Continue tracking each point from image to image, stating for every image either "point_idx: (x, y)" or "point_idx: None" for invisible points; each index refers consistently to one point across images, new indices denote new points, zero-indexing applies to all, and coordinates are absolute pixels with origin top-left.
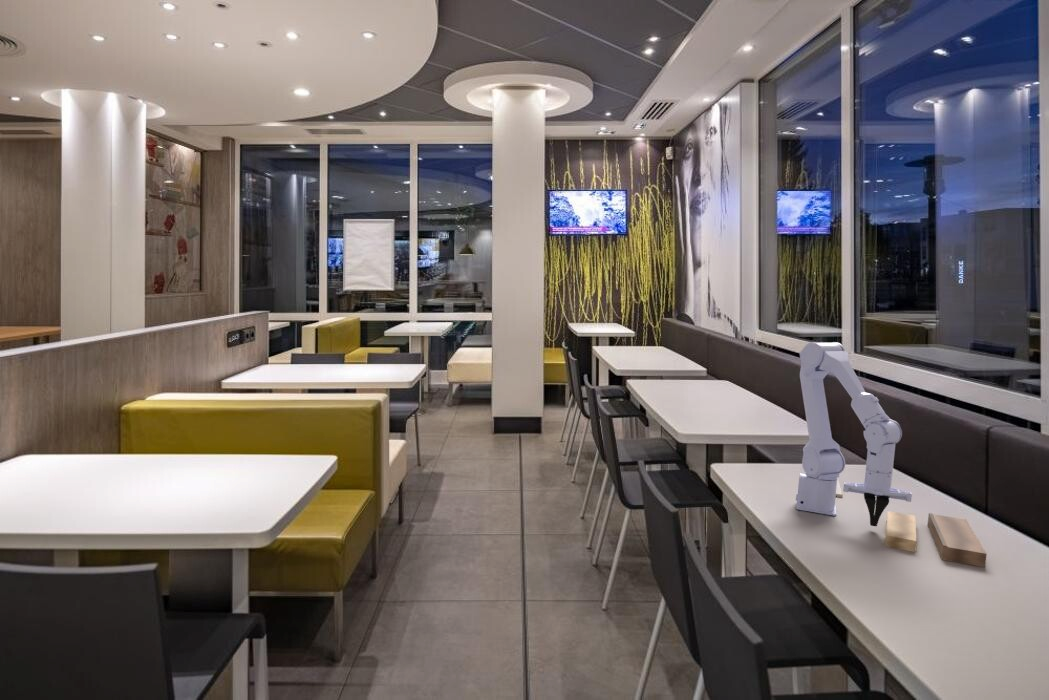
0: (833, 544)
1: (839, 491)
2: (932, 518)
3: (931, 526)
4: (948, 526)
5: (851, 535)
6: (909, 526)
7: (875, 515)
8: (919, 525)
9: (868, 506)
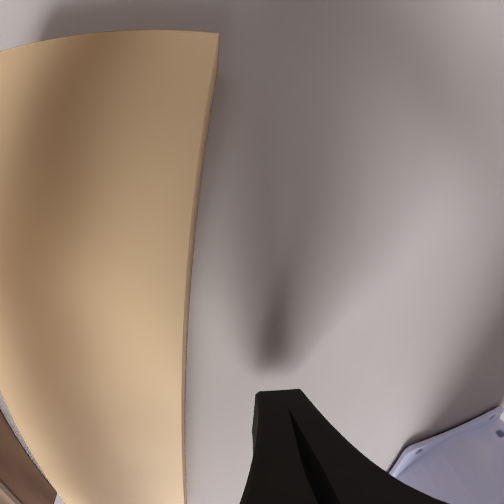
0: (486, 23)
1: None
2: (10, 494)
3: (6, 458)
4: None
5: (426, 203)
6: (37, 417)
7: (296, 459)
8: None
9: (416, 495)
